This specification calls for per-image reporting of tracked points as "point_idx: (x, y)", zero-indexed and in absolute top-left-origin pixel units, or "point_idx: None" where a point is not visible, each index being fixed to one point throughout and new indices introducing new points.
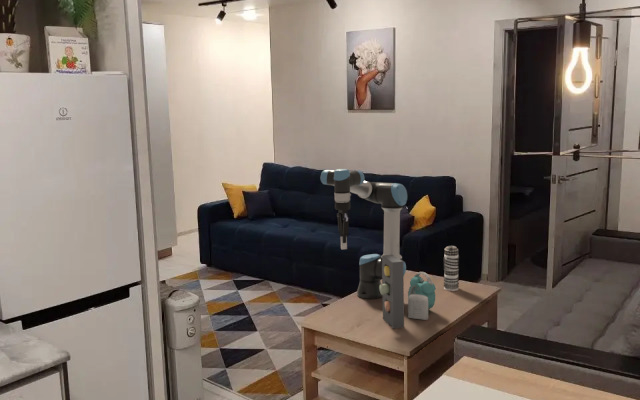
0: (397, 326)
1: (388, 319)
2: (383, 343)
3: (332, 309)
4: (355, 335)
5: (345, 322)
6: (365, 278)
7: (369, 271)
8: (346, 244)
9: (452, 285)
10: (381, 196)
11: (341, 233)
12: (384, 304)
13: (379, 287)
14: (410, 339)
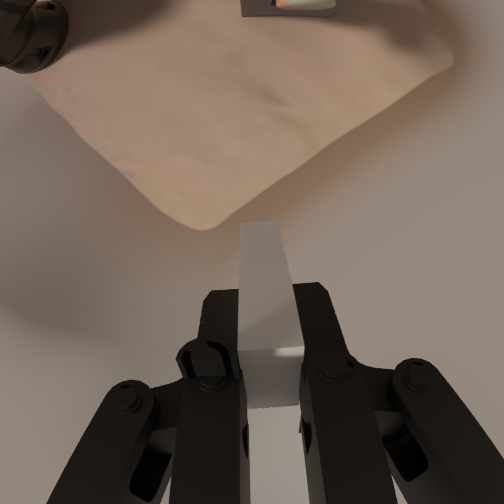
0: None
1: (292, 12)
2: (412, 87)
3: (120, 148)
4: (344, 129)
5: (237, 128)
6: (16, 46)
7: (8, 30)
8: (283, 254)
9: None
10: None
11: (246, 434)
12: (260, 1)
13: (288, 2)
14: (408, 19)
